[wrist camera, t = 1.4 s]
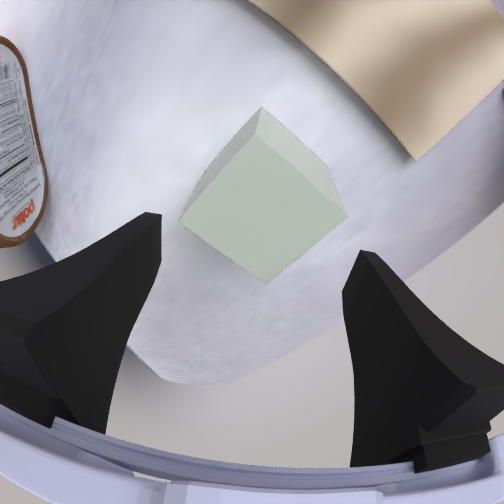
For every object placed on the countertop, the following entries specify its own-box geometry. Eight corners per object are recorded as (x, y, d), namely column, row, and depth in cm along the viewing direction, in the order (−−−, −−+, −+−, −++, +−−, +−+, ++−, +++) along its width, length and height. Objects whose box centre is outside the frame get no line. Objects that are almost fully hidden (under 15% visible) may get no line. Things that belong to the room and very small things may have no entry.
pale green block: (326, 164, 18) (347, 216, 13) (269, 218, 21) (265, 284, 15) (261, 106, 17) (255, 133, 11) (206, 168, 19) (177, 221, 14)
